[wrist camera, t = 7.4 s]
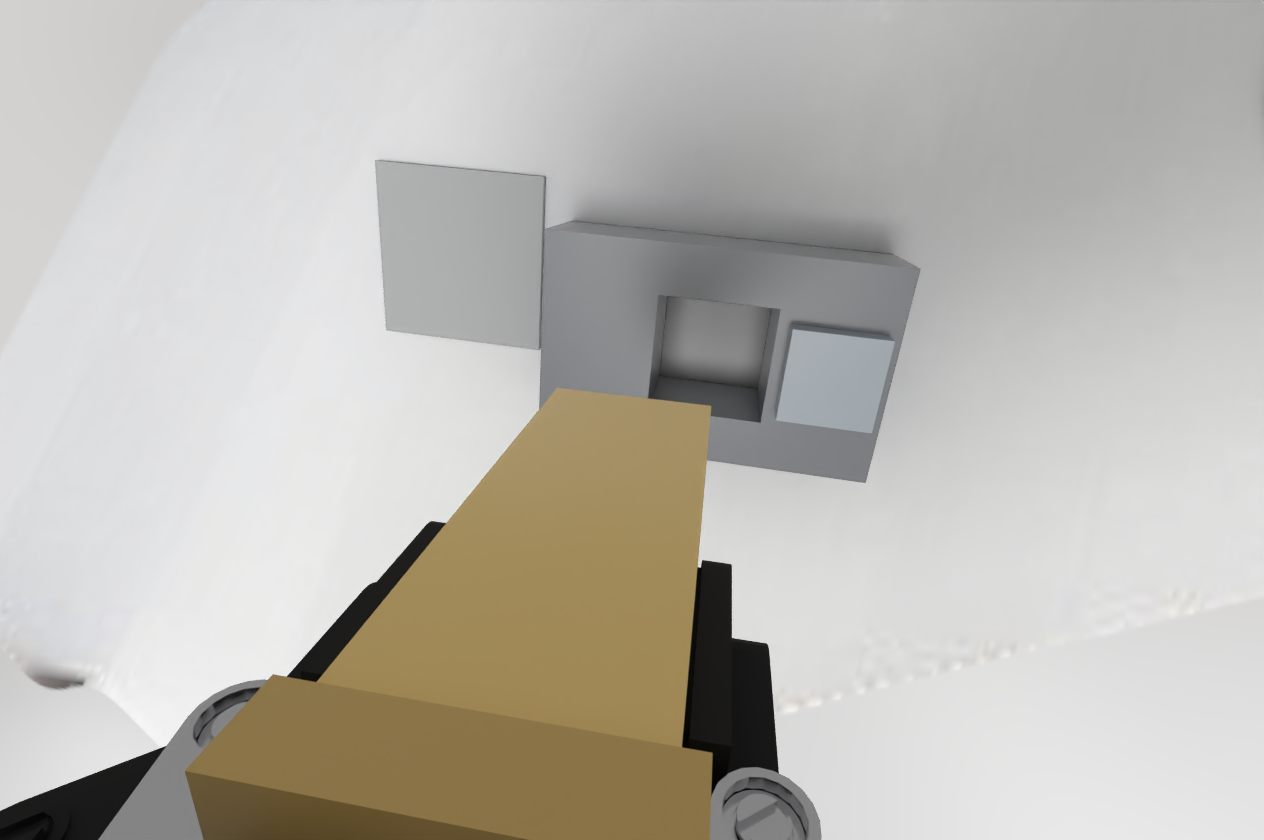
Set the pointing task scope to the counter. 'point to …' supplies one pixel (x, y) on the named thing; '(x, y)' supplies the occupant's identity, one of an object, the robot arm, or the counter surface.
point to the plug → (505, 661)
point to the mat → (462, 252)
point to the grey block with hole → (794, 349)
